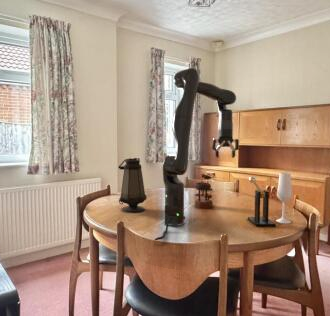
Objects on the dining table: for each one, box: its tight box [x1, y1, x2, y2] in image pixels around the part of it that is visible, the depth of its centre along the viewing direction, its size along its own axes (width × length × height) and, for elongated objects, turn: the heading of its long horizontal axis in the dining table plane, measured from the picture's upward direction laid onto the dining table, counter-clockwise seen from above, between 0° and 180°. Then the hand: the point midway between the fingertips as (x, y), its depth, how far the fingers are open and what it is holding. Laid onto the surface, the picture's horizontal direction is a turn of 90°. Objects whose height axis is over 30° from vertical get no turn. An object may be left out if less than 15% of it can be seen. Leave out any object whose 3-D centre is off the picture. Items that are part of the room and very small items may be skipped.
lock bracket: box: [247, 189, 277, 228], centre depth 143 cm, size 12×9×16 cm
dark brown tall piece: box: [193, 173, 214, 210], centre depth 176 cm, size 15×11×20 cm
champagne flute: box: [275, 172, 293, 224], centre depth 145 cm, size 7×7×24 cm
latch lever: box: [248, 176, 265, 199], centre depth 149 cm, size 17×3×3 cm, turn 0°
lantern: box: [118, 157, 147, 214], centre depth 170 cm, size 18×15×30 cm
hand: (225, 157), depth 165 cm, fingers open, 8 cm apart
